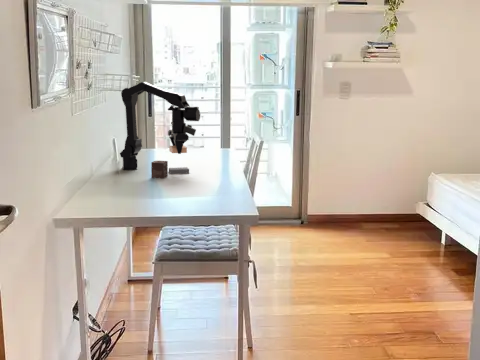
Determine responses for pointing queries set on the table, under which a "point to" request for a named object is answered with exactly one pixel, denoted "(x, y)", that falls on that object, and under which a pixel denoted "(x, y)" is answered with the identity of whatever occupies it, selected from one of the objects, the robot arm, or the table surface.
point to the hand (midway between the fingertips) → (177, 152)
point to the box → (159, 169)
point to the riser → (178, 170)
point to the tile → (174, 149)
